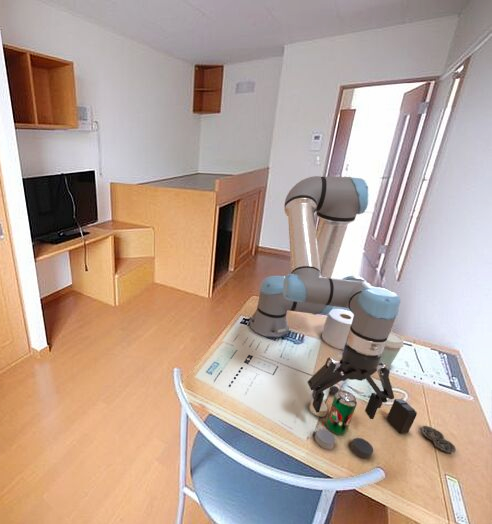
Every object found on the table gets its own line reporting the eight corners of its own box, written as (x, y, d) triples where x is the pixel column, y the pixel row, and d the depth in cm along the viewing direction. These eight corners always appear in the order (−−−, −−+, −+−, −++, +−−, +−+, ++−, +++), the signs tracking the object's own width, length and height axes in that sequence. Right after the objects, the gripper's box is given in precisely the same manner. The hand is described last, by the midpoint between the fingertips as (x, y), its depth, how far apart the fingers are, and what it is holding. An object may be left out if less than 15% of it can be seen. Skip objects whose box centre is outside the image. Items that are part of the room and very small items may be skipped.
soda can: (343, 423, 88) (354, 391, 83) (348, 438, 83) (360, 405, 79) (324, 418, 89) (333, 387, 85) (327, 433, 85) (338, 400, 80)
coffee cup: (384, 356, 115) (394, 329, 110) (399, 372, 107) (411, 344, 102) (360, 354, 116) (369, 328, 111) (374, 370, 108) (384, 342, 103)
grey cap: (311, 439, 83) (313, 434, 82) (319, 431, 85) (321, 425, 84) (328, 452, 79) (330, 446, 79) (336, 443, 82) (338, 437, 81)
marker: (341, 372, 107) (343, 368, 106) (348, 375, 105) (349, 370, 105) (327, 396, 97) (328, 391, 96) (334, 399, 96) (335, 394, 95)
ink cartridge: (408, 433, 85) (418, 412, 82) (400, 434, 85) (410, 412, 81) (393, 418, 89) (402, 398, 86) (386, 418, 89) (395, 398, 86)
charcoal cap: (347, 449, 80) (350, 443, 79) (354, 440, 83) (357, 434, 82) (366, 462, 77) (369, 456, 76) (373, 453, 79) (376, 447, 79)
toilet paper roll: (357, 339, 124) (365, 315, 120) (353, 354, 116) (361, 328, 111) (324, 328, 131) (331, 305, 127) (318, 341, 123) (325, 317, 119)
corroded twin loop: (442, 455, 79) (443, 452, 78) (414, 428, 86) (416, 425, 86) (460, 454, 79) (462, 452, 78) (431, 427, 86) (433, 425, 86)
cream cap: (306, 409, 92) (308, 403, 91) (313, 402, 95) (315, 397, 94) (321, 419, 89) (323, 413, 88) (328, 412, 91) (330, 406, 90)
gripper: (315, 352, 74) (298, 416, 82) (430, 363, 70) (400, 430, 78) (305, 334, 81) (290, 395, 89) (409, 343, 77) (384, 406, 85)
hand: (342, 411), depth 83 cm, fingers open, 13 cm apart
